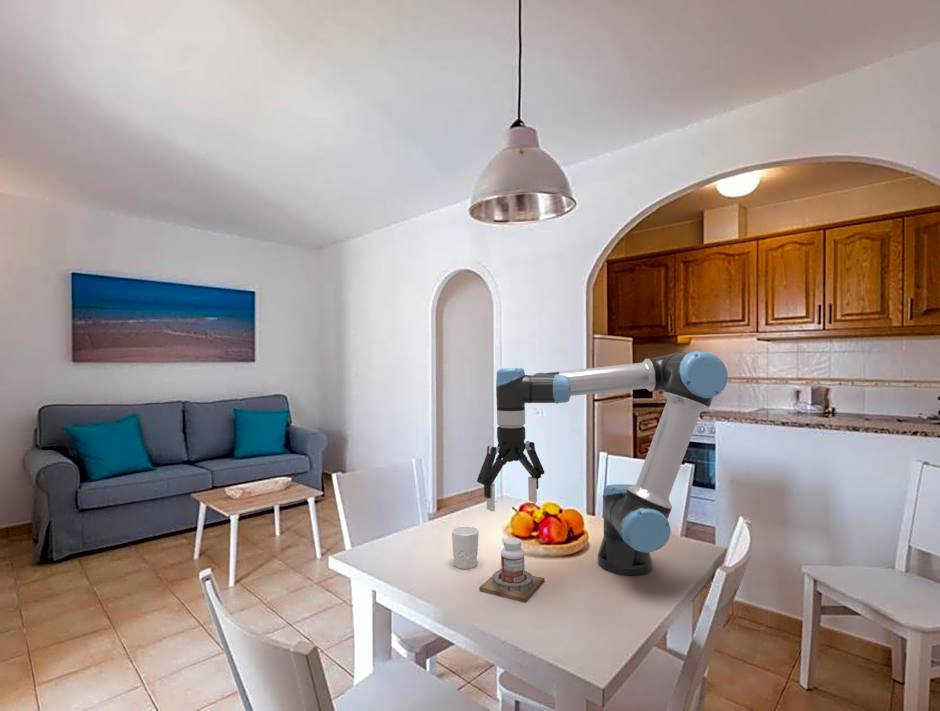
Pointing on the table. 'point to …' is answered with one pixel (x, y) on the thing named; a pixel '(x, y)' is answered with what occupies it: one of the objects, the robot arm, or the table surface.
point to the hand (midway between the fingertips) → (512, 505)
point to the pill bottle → (512, 561)
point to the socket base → (513, 594)
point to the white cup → (465, 546)
